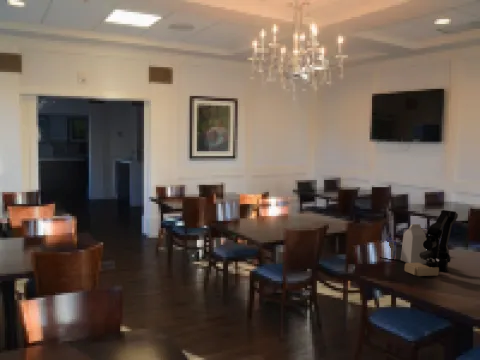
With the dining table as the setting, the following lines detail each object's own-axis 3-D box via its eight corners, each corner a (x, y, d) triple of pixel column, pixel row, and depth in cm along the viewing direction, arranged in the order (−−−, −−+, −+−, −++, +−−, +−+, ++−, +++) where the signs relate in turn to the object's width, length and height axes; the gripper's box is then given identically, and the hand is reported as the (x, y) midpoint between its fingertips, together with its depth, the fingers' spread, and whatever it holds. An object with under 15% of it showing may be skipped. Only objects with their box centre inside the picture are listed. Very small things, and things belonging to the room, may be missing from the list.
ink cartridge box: (395, 258, 321) (397, 238, 320) (393, 260, 317) (394, 239, 316) (381, 256, 327) (382, 236, 326) (379, 257, 322) (380, 237, 321)
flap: (437, 274, 283) (437, 267, 283) (438, 275, 282) (438, 267, 282) (416, 275, 280) (416, 267, 279) (417, 276, 279) (417, 268, 278)
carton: (417, 270, 292) (418, 262, 292) (428, 274, 283) (429, 266, 283) (404, 271, 289) (404, 263, 289) (414, 275, 280) (415, 267, 279)
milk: (410, 264, 307) (412, 225, 305) (400, 260, 318) (402, 222, 316) (426, 263, 310) (428, 225, 308) (415, 259, 321) (418, 222, 319)
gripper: (413, 243, 289) (411, 267, 291) (432, 251, 271) (430, 277, 273) (428, 243, 292) (426, 267, 294) (448, 250, 274) (446, 276, 276)
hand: (431, 271), depth 284 cm, fingers closed
